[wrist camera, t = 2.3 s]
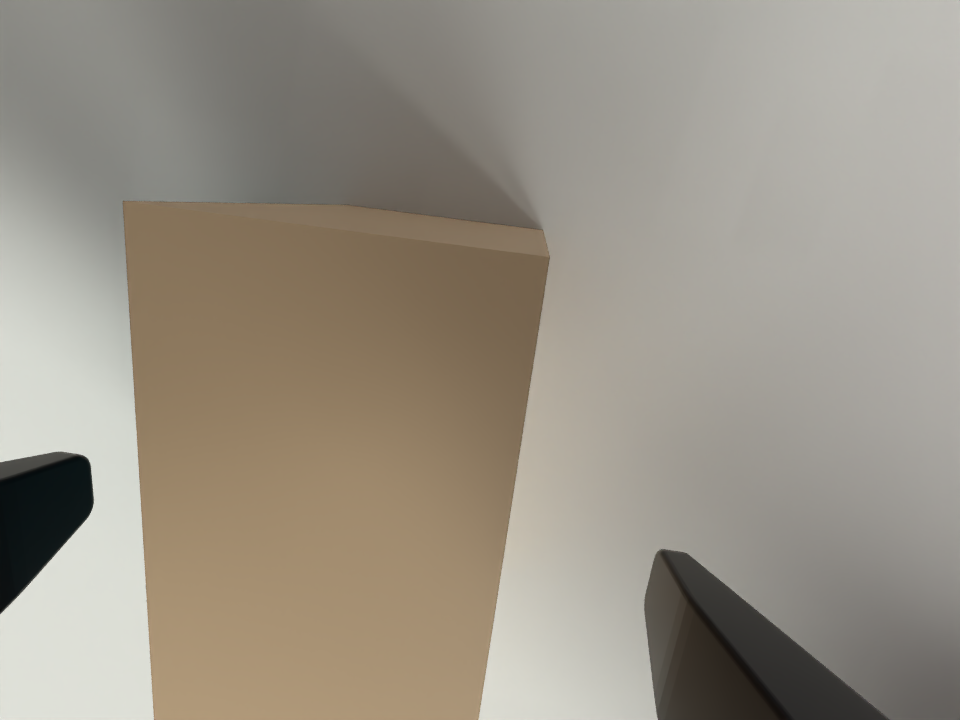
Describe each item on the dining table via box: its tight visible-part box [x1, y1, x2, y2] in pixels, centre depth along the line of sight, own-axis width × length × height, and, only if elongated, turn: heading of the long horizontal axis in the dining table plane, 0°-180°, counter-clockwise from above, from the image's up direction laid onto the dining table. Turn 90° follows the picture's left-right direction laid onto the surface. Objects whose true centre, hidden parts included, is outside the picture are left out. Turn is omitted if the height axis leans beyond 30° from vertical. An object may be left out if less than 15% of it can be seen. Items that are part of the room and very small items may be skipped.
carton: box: [123, 201, 550, 720], centre depth 10 cm, size 5×9×7 cm, turn 173°
